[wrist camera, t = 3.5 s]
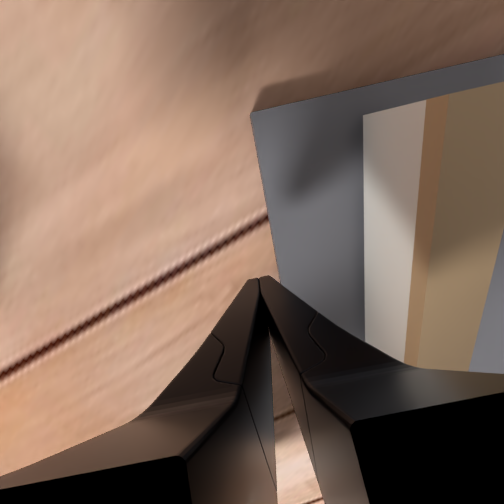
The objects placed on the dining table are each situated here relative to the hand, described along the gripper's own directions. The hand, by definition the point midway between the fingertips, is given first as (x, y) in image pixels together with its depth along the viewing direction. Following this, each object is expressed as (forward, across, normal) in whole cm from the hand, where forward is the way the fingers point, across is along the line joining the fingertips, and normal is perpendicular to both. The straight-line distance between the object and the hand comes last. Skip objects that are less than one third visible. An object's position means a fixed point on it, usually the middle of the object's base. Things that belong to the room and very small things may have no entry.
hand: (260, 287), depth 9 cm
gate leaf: (+3, -6, +4) cm, 8 cm away
